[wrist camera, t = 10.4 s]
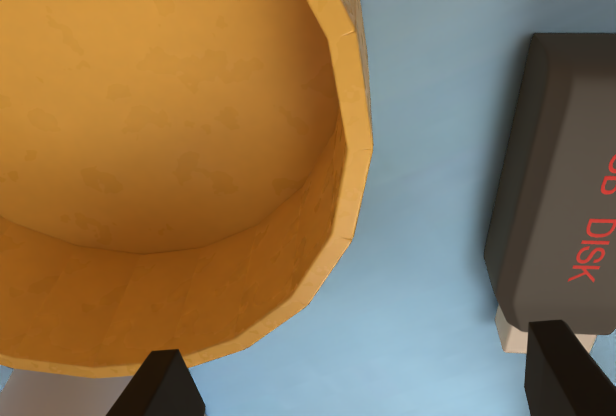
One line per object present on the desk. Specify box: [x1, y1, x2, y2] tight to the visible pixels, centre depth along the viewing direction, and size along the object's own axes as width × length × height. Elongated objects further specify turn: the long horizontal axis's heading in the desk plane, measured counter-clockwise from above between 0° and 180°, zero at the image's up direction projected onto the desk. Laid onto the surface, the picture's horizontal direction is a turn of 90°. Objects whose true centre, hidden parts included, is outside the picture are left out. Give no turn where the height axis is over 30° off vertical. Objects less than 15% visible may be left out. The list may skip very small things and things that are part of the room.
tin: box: [0, 0, 373, 379], centre depth 16 cm, size 17×17×6 cm
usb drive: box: [484, 33, 616, 353], centre depth 19 cm, size 5×12×3 cm, turn 1°
